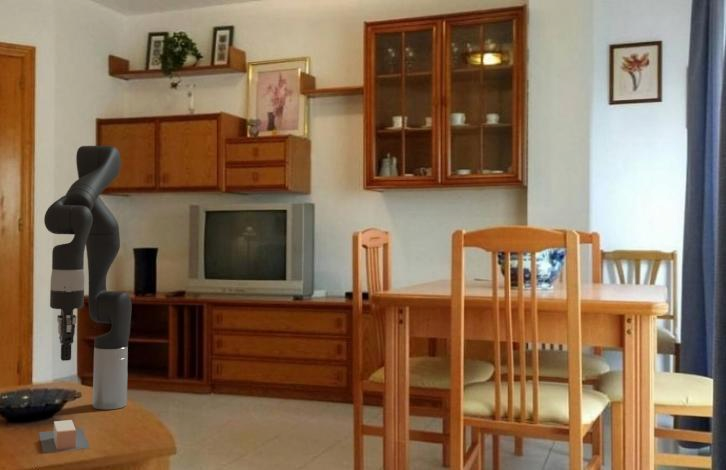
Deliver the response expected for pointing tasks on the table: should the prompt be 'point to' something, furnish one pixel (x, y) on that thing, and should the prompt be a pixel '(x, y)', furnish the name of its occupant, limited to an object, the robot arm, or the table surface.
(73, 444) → the cream block
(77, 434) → the slate mat
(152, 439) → the table surface
